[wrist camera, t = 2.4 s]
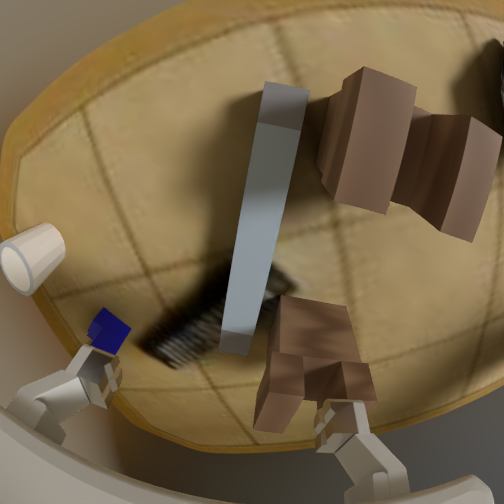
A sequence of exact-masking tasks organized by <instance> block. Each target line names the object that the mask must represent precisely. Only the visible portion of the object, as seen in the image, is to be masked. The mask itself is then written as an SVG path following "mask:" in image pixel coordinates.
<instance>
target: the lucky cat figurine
mask: <svg viewBox="0 0 504 504" xmlns="http://www.w3.org/2000/svg"><path fill="white" fill-rule="evenodd" d="M503 44H504V42H503ZM500 92H501V95H502V105H503V110H504V61H503V66H502V70H501V91H500Z"/></svg>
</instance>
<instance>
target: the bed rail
mask: <svg viewBox="0 0 504 504" xmlns="http://www.w3.org/2000/svg"><path fill="white" fill-rule="evenodd" d="M308 95H309V90H307V89H302V88H298V87H293V86H288V85H283V84H278V83H273V82H267V81H265V84H264V89H263V94H262V99H261V105H260V110H259V115H258V120H257V125H256V131H255V136H254V141H253V146H252V152H251V157H250V163H249V168H248V174H247V179H246V185H245V190H244V196H243V202H242V207H241V213H240V219H239V224H238V230H237V236H236V242H235V248H234V254H233V260H232V266H231V272H230V278H229V284H228V290H227V297H226V303H225V309H224V316H223V322H222V328H221V335H220V342H219V348H218V351H222V352H227V353H232V354H237V355H242V356H247V357H248V354H249V350H250V346H251V342H252V338H253V334H254V331H255V327H256V323H257V319H258V315H259V311H260V307H261V303H262V299H263V295H264V291H265V287H266V283H267V278H268V274H269V270H270V266H271V262H272V258H273V254H274V249H275V245H276V241H277V237H278V232H279V228H280V224H281V219H282V215H283V211H284V206H285V202H286V198H287V193H288V189H289V184H290V180H291V175H292V171H293V166H294V162H295V157H296V152H297V148H298V143H299V138H300V134H301V129H302V124H303V119H304V115H305V110H306V105H307V100H308Z"/></svg>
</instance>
